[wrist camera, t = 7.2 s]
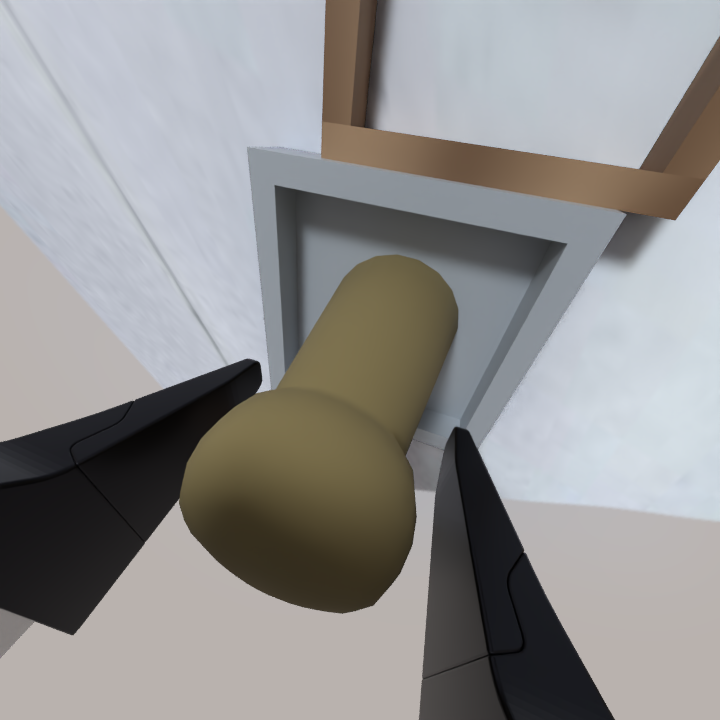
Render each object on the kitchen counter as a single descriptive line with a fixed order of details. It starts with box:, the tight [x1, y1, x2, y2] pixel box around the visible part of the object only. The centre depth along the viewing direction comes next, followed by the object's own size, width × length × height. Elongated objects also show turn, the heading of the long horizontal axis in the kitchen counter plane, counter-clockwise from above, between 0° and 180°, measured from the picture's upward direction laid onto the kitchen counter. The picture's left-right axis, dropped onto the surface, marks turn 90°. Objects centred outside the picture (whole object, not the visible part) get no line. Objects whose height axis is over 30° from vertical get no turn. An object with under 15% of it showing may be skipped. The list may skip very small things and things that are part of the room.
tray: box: [247, 147, 627, 450], centre depth 14 cm, size 12×12×2 cm
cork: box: [179, 254, 459, 614], centre depth 10 cm, size 6×6×11 cm
